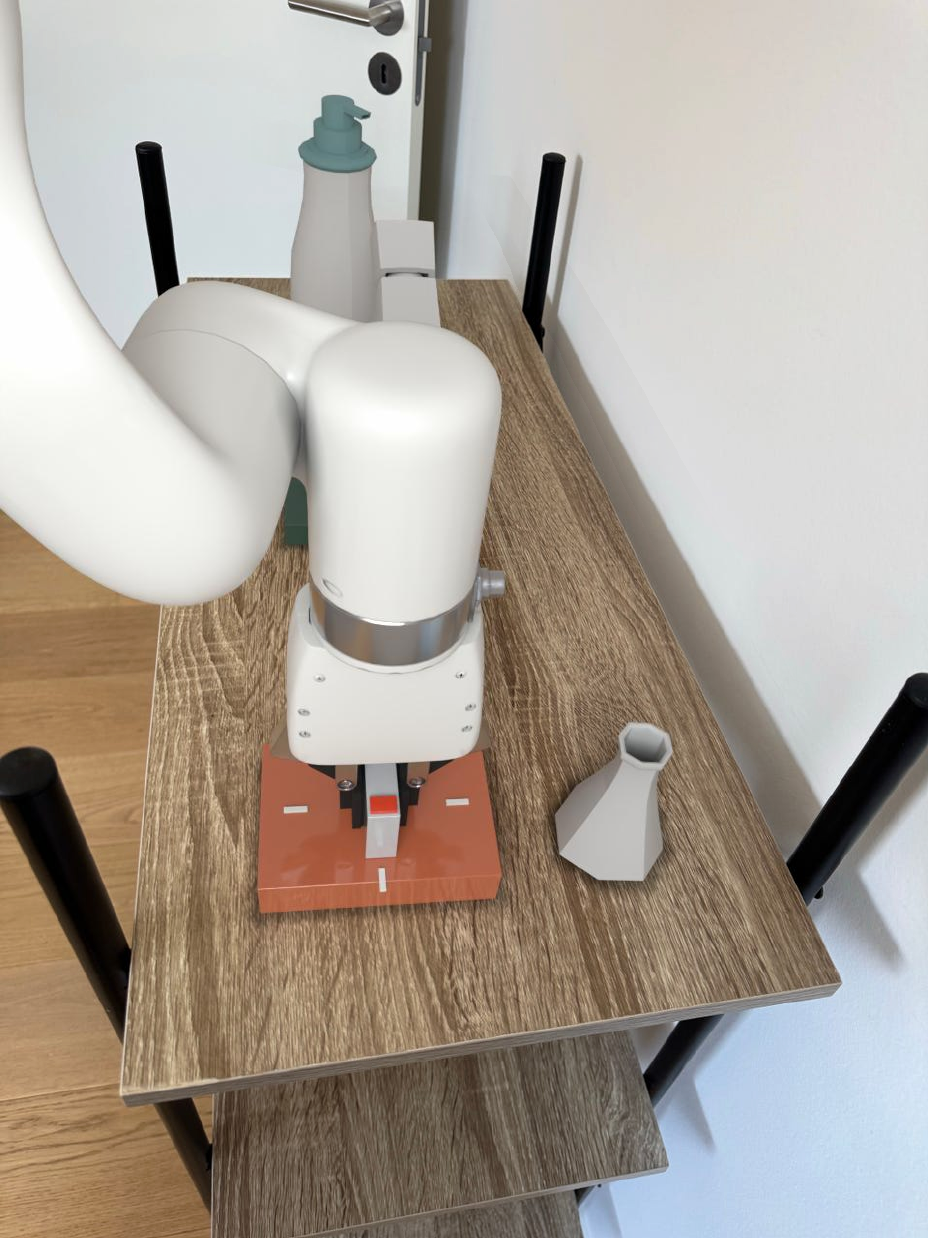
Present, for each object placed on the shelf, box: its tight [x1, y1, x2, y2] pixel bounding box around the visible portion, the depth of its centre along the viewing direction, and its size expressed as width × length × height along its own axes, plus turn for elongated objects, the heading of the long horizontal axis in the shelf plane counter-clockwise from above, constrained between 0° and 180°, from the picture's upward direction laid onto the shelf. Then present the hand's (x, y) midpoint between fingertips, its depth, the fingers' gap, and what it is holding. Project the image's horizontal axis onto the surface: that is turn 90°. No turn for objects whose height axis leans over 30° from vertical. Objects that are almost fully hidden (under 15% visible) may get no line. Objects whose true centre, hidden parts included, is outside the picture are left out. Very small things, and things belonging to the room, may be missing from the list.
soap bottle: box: [289, 94, 378, 323], centre depth 91 cm, size 10×10×23 cm
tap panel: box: [256, 743, 503, 914], centre depth 56 cm, size 14×11×3 cm
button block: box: [284, 477, 309, 546], centre depth 78 cm, size 12×10×4 cm
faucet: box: [370, 219, 441, 327], centre depth 88 cm, size 6×16×20 cm
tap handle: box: [364, 763, 400, 858], centre depth 54 cm, size 7×2×5 cm, turn 7°
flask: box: [554, 721, 674, 882], centre depth 56 cm, size 7×7×10 cm
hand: (377, 805), depth 55 cm, fingers closed on tap handle, 2 cm apart
